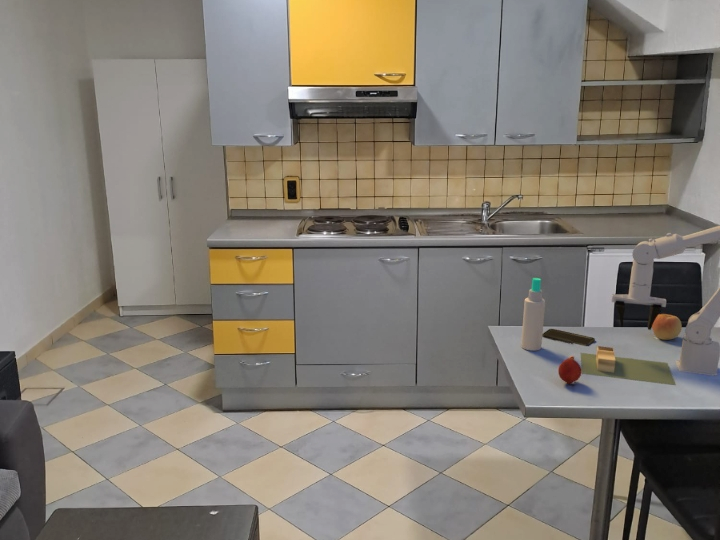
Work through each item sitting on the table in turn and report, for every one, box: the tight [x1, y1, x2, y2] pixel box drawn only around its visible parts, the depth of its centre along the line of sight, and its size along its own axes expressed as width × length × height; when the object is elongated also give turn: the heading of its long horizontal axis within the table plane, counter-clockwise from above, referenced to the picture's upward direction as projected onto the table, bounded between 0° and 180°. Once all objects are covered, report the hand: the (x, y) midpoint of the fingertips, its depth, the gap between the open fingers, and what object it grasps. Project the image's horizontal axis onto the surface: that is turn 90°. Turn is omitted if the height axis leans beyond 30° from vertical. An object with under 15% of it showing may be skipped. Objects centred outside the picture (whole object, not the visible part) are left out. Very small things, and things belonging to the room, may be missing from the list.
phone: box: [542, 328, 596, 347], centre depth 207 cm, size 8×1×15 cm
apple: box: [651, 313, 682, 341], centre depth 207 cm, size 9×9×8 cm
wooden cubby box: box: [596, 345, 616, 373], centre depth 185 cm, size 10×4×4 cm, turn 162°
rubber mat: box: [580, 352, 677, 386], centre depth 183 cm, size 24×16×1 cm, turn 73°
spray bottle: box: [520, 277, 546, 352], centre depth 196 cm, size 6×6×22 cm
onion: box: [557, 355, 582, 385], centre depth 173 cm, size 6×6×8 cm
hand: (635, 327), depth 190 cm, fingers open, 7 cm apart
